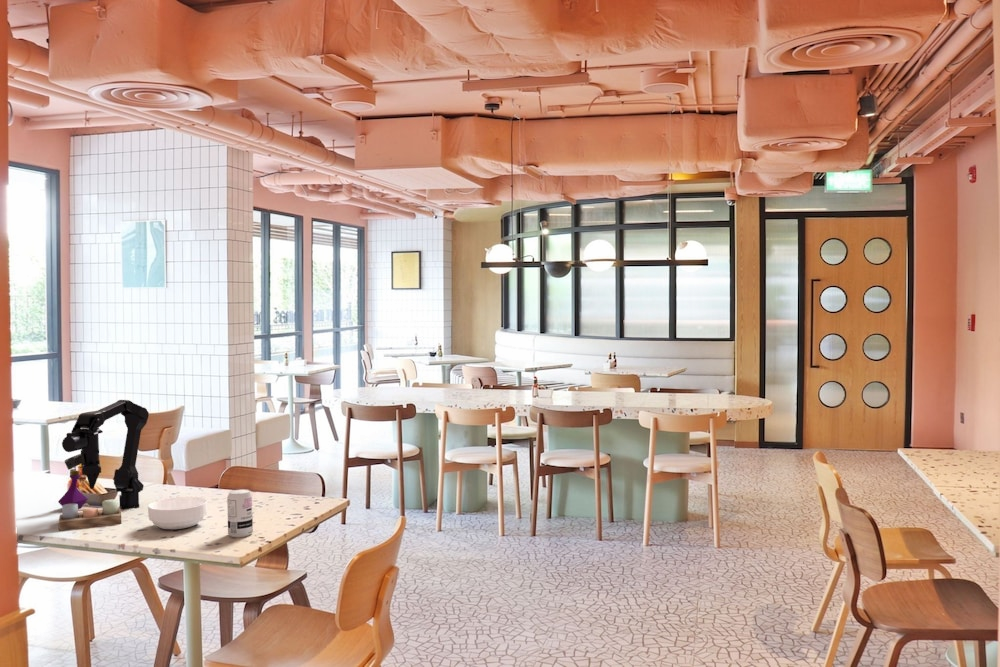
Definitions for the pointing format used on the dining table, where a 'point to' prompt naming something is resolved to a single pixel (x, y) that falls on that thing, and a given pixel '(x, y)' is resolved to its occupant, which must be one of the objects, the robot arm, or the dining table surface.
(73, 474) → the perfume bottle
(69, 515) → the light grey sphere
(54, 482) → the dining table surface
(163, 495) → the dining table surface
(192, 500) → the bowl
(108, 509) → the pale green rounded cube
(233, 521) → the supplement can
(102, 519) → the wooden compartment tray
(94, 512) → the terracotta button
